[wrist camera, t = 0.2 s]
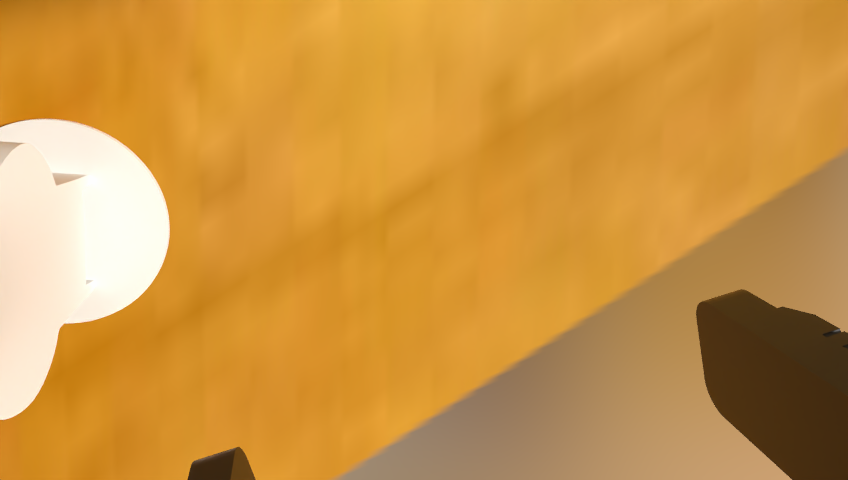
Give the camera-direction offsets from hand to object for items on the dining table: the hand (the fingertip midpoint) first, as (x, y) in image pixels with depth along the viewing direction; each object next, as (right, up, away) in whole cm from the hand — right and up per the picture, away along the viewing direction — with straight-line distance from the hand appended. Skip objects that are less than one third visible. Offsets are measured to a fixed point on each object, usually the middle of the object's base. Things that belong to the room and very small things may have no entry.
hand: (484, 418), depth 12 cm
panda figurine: (-21, +4, +26) cm, 34 cm away
